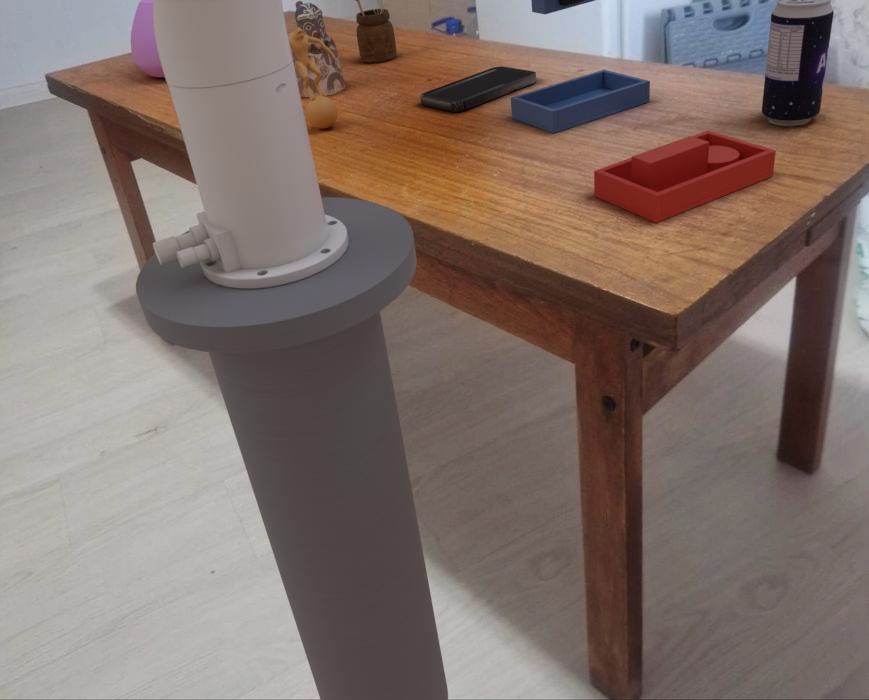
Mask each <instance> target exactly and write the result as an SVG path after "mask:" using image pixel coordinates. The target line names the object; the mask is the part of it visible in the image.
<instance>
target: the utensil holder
mask: <svg viewBox="0 0 869 700" xmlns="http://www.w3.org/2000/svg"><path fill="white" fill-rule="evenodd" d="M355 2H357V6H358V8H359V11H360V12H358V13H356V18H355V19H356V20H355V21H356V23H357V24H358V25H357V27H356V39H357V47H358V52H359V57H360V60H361V61H362V62H363V63H366V64H368V63H369V64H375V63H376V64H378V63H383V62H387V61H390V60H393V59H395V58H396V57H397V44H396V37H395V36H396V35H395V30H394V26H393V24H392V22H391V20H390V18H391V16H390V12H389V10H388V9H387V8H386V4H387V2H384V0H382V2H381V5H383V8H382V7H379V6H378V4H376V5H377V6H375V4H374V0H371V3H370V4H371V5H370V6H372V7H371V9H367V10H363V7H362V4H361V1H360V0H355ZM383 3H384V4H383Z"/></svg>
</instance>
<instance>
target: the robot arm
mask: <svg viewBox="0 0 869 700" xmlns="http://www.w3.org/2000/svg"><path fill="white" fill-rule="evenodd" d="M581 1H584V0H559V3H560V5H562V6H566V5H570V4H574V3H578V2H581ZM153 13H154V31H155V38H156V44H157V48H158V53H159V57H160V61H161V65H162V68H163V72H164V75H165V77H164V78H165V82H166V84H167V88H168V90H169V94H170V97H171V100H172V104H173V107H174V110H175V111H174V112H175V114H176V118H177V121H178V125H179V128H180V131H181V136H182V138H183V143H184V146H185V149H186V152H187V156H188V159H189V162H190V166H191V169H192V172H193V176H194V179H195V182H196V186H197V189H198V193H199V197H200V200H201V203H202V207H203V211H202V212H198V213H196V218H197V221H198V224H197V225H193V226H190V227H189V229H188V231H189V233H186V234H183V233H182V234H183V235H182V234H179V235H176V236H175V235H174V236H169V237H166V238H164V239H163V238H162V239H160V240H157V241H154V242H152V248H153V251H154V254H155V253H156V256H157V258H158V260H159V263H160V264H161V265H164V264H167V263H170V262H173V261H176V260H179V263H180V265H181V267H182V268H185V267H188V266H191V265H194V264H197V263H198V262H200V264H201V267H202V270H203V273H204V275H205V276H206V277H207V278H208V279H209V280H210V281H212V282H214V283H216V284H218V285H222V286H225V287H230V288H238V289H258V288H269V287H274V286H280V285H285V284H288V283H292V282H296V281H299V280H302V279H305V278H307V277H310V276H312V275H314V274H317V273H319V272H321V271H323V270H324V269H326V268H328V267H329V266H331V265H332V264H334V263H335V262H336V261H337V260H338V259H340V257H341V256H342V255H343V254H344V252H345V251H346V249H347V247H348V244H349V241H348V234H347V230H346V227H345V226H344V224H343V223H342V222H341V221H339V220H337V219H336V218H334V217H331V216H328V215H325V213H324V208H323V204H322V199H321V197H322V194H321V189H320V185H319V180H318V175H317V169H316V165H315V160H314V157H313V156H314V155H313V151H312V146H311V142H310V141H311V140H310V135H309V132H308V131H309V130H308V126H307V121H306V118H305V117H306V115H305V112H304V108H303V107H304V106H303V103H302V97H300V92H299V87H298V82H297V78H296V73H295V68H294V63H293V58H292V49H291V47H290V43H289V39H288V36H289V34H288V33H289V32H288V28H287V24H286V19H285V12H284V5H283V0H154V5H153Z"/></svg>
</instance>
